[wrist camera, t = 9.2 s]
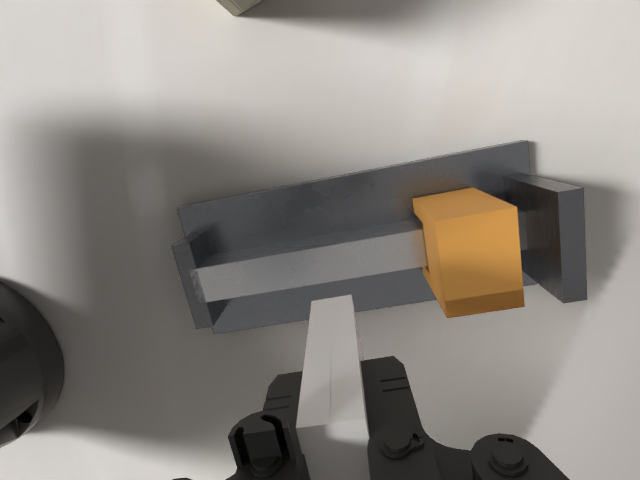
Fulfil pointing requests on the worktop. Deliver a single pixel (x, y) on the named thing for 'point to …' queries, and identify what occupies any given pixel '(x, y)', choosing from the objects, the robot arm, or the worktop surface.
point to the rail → (338, 216)
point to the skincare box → (237, 5)
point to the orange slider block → (471, 251)
